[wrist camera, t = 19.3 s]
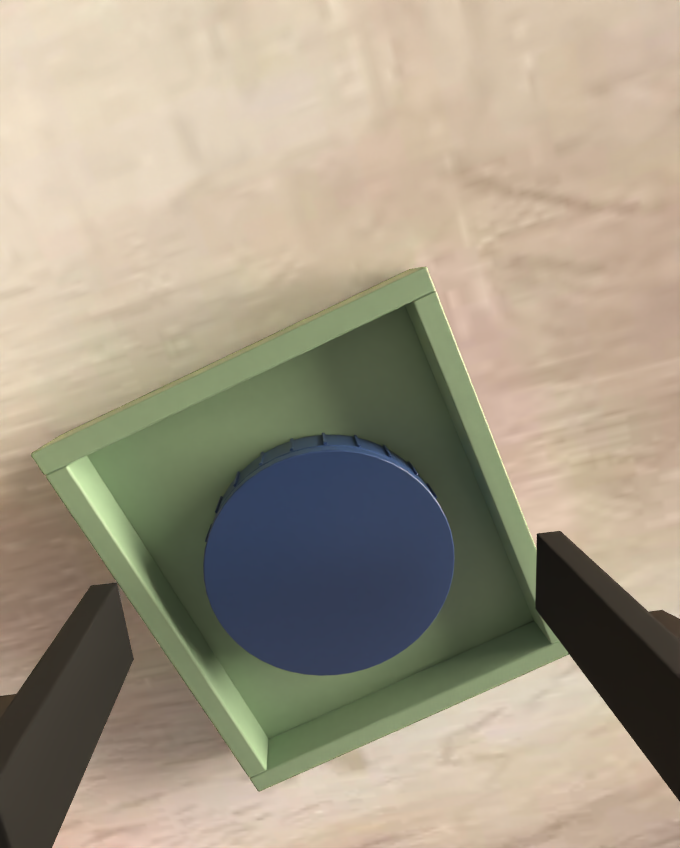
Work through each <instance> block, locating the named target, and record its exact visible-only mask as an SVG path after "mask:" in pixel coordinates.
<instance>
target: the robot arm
mask: <svg viewBox="0 0 680 848" xmlns="http://www.w3.org/2000/svg"><path fill="white" fill-rule="evenodd" d="M535 609H536V610H537V612H538V613H539V614H540V616H541V617H542V618H543V620H544V621H545V622H546V624H547V625H548V626H549V628H550V629H551V630H552V632H553V633H554V634H555V636H556V637H557V638H558V640H559V641H560V642H561V644H562V645H563V646H564V648H565V649H566V650H567V652H568V653H569V654H570V656H571V657H572V658H573V660H574V661H575V662H576V664H577V665H578V666H579V668H580V669H581V670H582V672H583V673H584V674H585V676H586V677H587V678H588V680H589V681H590V682H591V684H592V685H593V686H594V688H595V689H596V690H597V692H598V693H599V694H600V696H601V697H602V698H603V700H604V701H605V702H606V704H607V705H608V706H609V708H610V709H611V710H612V712H613V713H614V714H615V716H616V717H617V718H618V720H619V721H620V722H621V724H622V725H623V726H624V728H625V729H626V730H627V732H628V733H629V734H630V736H631V737H632V738H633V740H634V741H635V742H636V744H637V745H638V746H639V748H640V749H641V750H642V752H643V753H644V754H645V756H646V757H647V758H648V760H649V761H650V762H651V764H652V765H653V766H654V768H655V769H656V770H657V772H658V773H659V774H660V776H661V777H662V779H663V780H664V781H665V783H666V784H667V785H668V787H669V788H670V789H671V791H672V792H673V793H674V795H675V796H676V797H677V799H678V800H679V801H680V619H679V618H677V617H675V616H673V615H671V614H669V613H667V612H665V611H663V610H659V611H651V612H648V611H647V610H646V609H645V608H644V607H643V606H642V605H640V604H639V603H638V602H637V601H636V600H635V599H634V598H633V597H632V596H631V595H630V594H628V593H627V592H626V591H625V590H624V589H623V588H622V587H621V586H620V585H619V584H618V583H616V582H615V581H614V580H613V579H612V578H611V577H610V576H609V575H608V574H607V573H606V572H604V571H603V570H602V569H601V568H600V567H599V566H598V565H597V564H596V563H595V562H594V561H592V560H591V559H590V558H589V557H588V556H587V555H586V554H585V553H584V552H583V551H582V550H580V549H579V548H578V547H577V546H576V545H575V544H574V543H573V542H572V541H571V540H570V539H568V538H567V537H566V536H565V535H564V534H563V533H562V532H561V531H556V532H547V533H539V534H537V555H536V598H535ZM133 660H134V658H133V654H132V649H131V645H130V640H129V636H128V631H127V627H126V622H125V618H124V613H123V609H122V604H121V600H120V595H119V591H118V586H117V583H109V584H100V585H92V586H90V588H89V589H88V591H87V592H86V593H85V595H84V596H83V598H82V599H81V601H80V602H79V604H78V605H77V607H76V608H75V610H74V611H73V612H72V614H71V615H70V617H69V618H68V620H67V621H66V623H65V624H64V626H63V627H62V628H61V630H60V631H59V633H58V634H57V636H56V637H55V639H54V640H53V642H52V643H51V645H50V646H49V647H48V649H47V650H46V652H45V653H44V655H43V656H42V658H41V659H40V661H39V662H38V664H37V665H36V666H35V668H34V669H33V671H32V672H31V674H30V675H29V677H28V678H27V680H26V681H25V683H24V684H23V685H22V687H21V688H20V690H19V691H18V693H17V694H13V695H5V696H0V848H52V846H53V844H54V842H55V839H56V837H57V835H58V832H59V830H60V828H61V826H62V823H63V821H64V819H65V816H66V814H67V812H68V809H69V807H70V805H71V803H72V800H73V798H74V796H75V793H76V791H77V789H78V786H79V784H80V782H81V779H82V777H83V775H84V773H85V770H86V768H87V766H88V763H89V761H90V759H91V756H92V754H93V752H94V749H95V747H96V745H97V743H98V740H99V738H100V736H101V733H102V731H103V729H104V726H105V724H106V722H107V720H108V717H109V715H110V713H111V710H112V708H113V706H114V703H115V701H116V699H117V696H118V694H119V692H120V690H121V687H122V685H123V683H124V680H125V678H126V676H127V673H128V671H129V669H130V667H131V664H132V662H133Z"/></svg>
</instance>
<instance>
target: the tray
mask: <svg viewBox="0 0 680 848" xmlns="http://www.w3.org/2000/svg"><path fill="white" fill-rule="evenodd" d="M322 433H325V435H345V436H354V435H357V437H358V438H361V439H365V440H369V441H371V442H374V443H376V444H379V445H381V446H383V445H386V446H387V448H388V449H389V450H390V451H392V452H394V453H396V454H397V455H398V456H400V457H401V458H402V459H404V460H405V461H406V462H408V461H410V462H411V464H412V465H413V467H414V468H415V470H416V471H417V473H418V474H419V475H420V477H421V478H422V479H423V481H424V482H425V484H427V483H428V484H429V485H430V487H431V488H432V490H433V491H434V493H435V494H436V496H437V497H438V498H436V500H437V501H438V503H439V504H440V506H441V508H442V510H443V512H444V514H445V516H446V518H447V521H448V523H449V527H450V530H451V533H452V538H453V544H454V571H453V577H452V581H451V585H450V589H449V592H448V595H447V597H446V600H445V602H444V604H443V606H442V608H441V610H440V611H439V613H438V615H437V617H436V618H435V619H434V621H433V622H432V623H431V625H430V626H429V628H428V629H427V630H426V631H425V632H424V633H423V634H422V635H421V636H420V637H419V638H418V639H417V640H416V641H415V642H414V643H412V644H411V645H410V646H409V647H408V648H406V649H405V650H403V651H402V652H400V653H399V654H397V655H396V656H394V657H392V658H391V659H389V660H387V661H385V662H383V663H381V664H378V665H376V666H373V667H370V668H368V669H365V670H361V671H357V672H353V673H348V674H341V675H328V676H317V675H305V674H299V673H294V672H289V671H286V670H283V669H280V668H277V667H274V666H272V665H270V664H267V663H265V662H263V661H261V660H259V659H258V658H256V657H255V656H253V655H251V654H250V653H248V652H247V651H246V650H244V649H243V648H242V647H241V646H239V645H238V644H237V643H236V642H235V641H234V640H233V639H232V638H231V637H230V636H229V635H228V634H227V632H226V631H225V629H224V628H223V627H222V625H221V624H220V623H219V621H218V619H217V617H216V615H215V614H214V612H213V610H212V608H211V605H210V602H209V599H208V596H207V594H206V588H205V583H204V574H203V560H204V551H205V546H206V542H205V539H206V536H207V533H208V531H209V528H210V525H211V524H212V523H213V520H214V517H215V514H216V513H215V510H216V507H217V504H218V501H219V498H220V496H222V497H223V496H224V494H225V492H226V491H227V489H228V487H229V486H230V484H231V483H232V482H233V481H234V479H235V477H236V474H237V472H238V471H239V472H241V471H242V470H244V469H245V468H246V467H247V466H248V465H249V464H250V463H251V462H252V461H254V460H255V459H257V458H258V457H259V456H260V454H261V452H264V453H265V452H267V451H269V450H271V449H273V448H275V447H276V446H279V445H281V444H284V443H286V442H289V441H290V439H291V438H293V440H295V439H299V438H303V437H307V436H316V435H322ZM31 456H32V458H33V459H34V461H35V462H36V464H37V465H38V467H39V468H40V470H41V471H42V472H43V474H44V475H46V474H47V475H46V478H47V479H48V481H49V482H50V484H51V485H52V487H53V488H54V490H55V491H56V493H57V494H58V496H59V497H60V499H61V500H62V502H63V503H64V504H65V506H66V507H67V509H68V510H69V512H70V513H71V515H72V516H73V518H74V519H75V521H76V522H77V524H78V525H79V527H80V528H81V530H82V531H83V533H84V534H85V536H86V537H87V539H88V540H89V541H90V543H91V544H92V546H93V547H94V549H95V550H96V552H97V553H98V555H99V556H100V558H101V559H102V561H103V562H104V564H105V565H106V567H107V568H108V570H109V571H110V573H111V574H112V576H113V577H114V578H115V580H116V581H117V583H118V584H119V586H120V587H121V589H122V590H123V592H124V593H125V595H126V596H127V598H128V599H129V601H130V602H131V604H132V605H133V607H134V608H135V610H136V611H137V612H138V614H139V615H140V617H141V618H142V620H143V621H144V623H145V624H146V626H147V627H148V629H149V630H150V632H151V633H152V635H153V636H154V638H155V639H156V641H157V642H158V644H159V645H160V647H161V648H162V649H163V651H164V652H165V654H166V655H167V657H168V658H169V660H170V661H171V663H172V664H173V666H174V667H175V669H176V670H177V672H178V673H179V675H180V676H181V678H182V679H183V681H184V682H185V683H186V685H187V686H188V688H189V689H190V691H191V692H192V694H193V695H194V697H195V698H196V700H197V701H198V703H199V704H200V706H201V707H202V709H203V710H204V712H205V713H206V715H207V716H208V718H209V719H210V720H211V722H212V723H213V725H214V726H215V728H216V729H217V731H218V732H219V734H220V735H221V737H222V738H223V740H224V741H225V743H226V744H227V746H228V747H229V749H230V750H231V752H232V753H233V754H234V756H235V757H236V759H237V760H238V762H239V763H240V765H241V766H242V768H243V769H244V771H245V772H246V774H247V775H248V777H250V780H251V781H252V783H253V784H254V786H255V787H256V789H257V790H258V791H262V790H264V789H266V788H269V787H271V786H273V785H275V784H278V783H280V782H282V781H284V780H287V779H289V778H291V777H293V776H296V775H298V774H300V773H302V772H305V771H307V770H309V769H311V768H314V767H316V766H318V765H320V764H323V763H325V762H327V761H329V760H332V759H334V758H336V757H339V756H341V755H343V754H345V753H348V752H350V751H352V750H354V749H357V748H359V747H361V746H363V745H366V744H368V743H370V742H372V741H375V740H377V739H379V738H381V737H384V736H386V735H388V734H390V733H393V732H395V731H397V730H399V729H402V728H404V727H406V726H408V725H411V724H413V723H415V722H418V721H420V720H422V719H424V718H427V717H429V716H431V715H433V714H436V713H438V712H440V711H442V710H445V709H447V708H449V707H451V706H454V705H456V704H458V703H460V702H463V701H465V700H467V699H469V698H472V697H474V696H476V695H478V694H481V693H483V692H485V691H487V690H490V689H492V688H494V687H497V686H499V685H501V684H503V683H506V682H508V681H510V680H512V679H515V678H517V677H519V676H521V675H524V674H526V673H528V672H530V671H533V670H535V669H537V668H539V667H542V666H544V665H546V664H548V663H551V662H553V661H555V660H557V659H560V658H562V657H564V656H566V655H569V653H568V652H567V650H566V649H565V648H564V646H563V645H562V644H561V642H560V641H559V640H558V638H557V637H556V636H555V634H554V633H553V632H552V630H551V629H550V628H549V626H548V625H547V624H546V622H545V621H544V620H543V618H542V617H541V616H540V614H539V613H538V612H537V610H536V609H535V598H536V555H537V549H536V547H535V544H534V542H533V539H532V537H531V534H530V531H529V529H528V526H527V524H526V521H525V519H524V516H523V513H522V511H521V508H520V506H519V503H518V501H517V498H516V495H515V493H514V490H513V488H512V485H511V483H510V480H509V477H508V475H507V472H506V470H505V467H504V465H503V462H502V459H501V457H500V454H499V452H498V449H497V447H496V444H495V441H494V439H493V436H492V434H491V431H490V429H489V426H488V423H487V421H486V418H485V416H484V413H483V411H482V408H481V405H480V403H479V400H478V398H477V395H476V393H475V390H474V387H473V385H472V382H471V380H470V377H469V375H468V372H467V369H466V367H465V364H464V362H463V359H462V357H461V354H460V351H459V349H458V346H457V344H456V341H455V339H454V336H453V333H452V331H451V328H450V326H449V323H448V321H447V318H446V315H445V313H444V310H443V308H442V305H441V303H440V300H439V297H438V295H437V292H436V291H435V287H434V285H433V282H432V279H431V277H430V274H429V272H428V269H427V267H420V268H413V269H409V270H407V271H405V272H403V273H401V274H399V275H397V276H394V277H392V278H390V279H388V280H386V281H384V282H382V283H380V284H378V285H376V286H373V287H371V288H369V289H367V290H365V291H363V292H361V293H359V294H357V295H355V296H352V297H350V298H348V299H346V300H344V301H342V302H340V303H338V304H336V305H333V306H331V307H329V308H327V309H325V310H323V311H321V312H319V313H317V314H315V315H312V316H310V317H308V318H306V319H304V320H302V321H300V322H298V323H296V324H293V325H291V326H289V327H287V328H285V329H283V330H281V331H279V332H277V333H275V334H272V335H270V336H268V337H266V338H264V339H262V340H260V341H258V342H256V343H253V344H251V345H249V346H247V347H245V348H243V349H241V350H239V351H237V352H235V353H232V354H230V355H228V356H226V357H224V358H222V359H220V360H218V361H216V362H213V363H211V364H209V365H207V366H205V367H203V368H201V369H199V370H197V371H195V372H192V373H190V374H188V375H186V376H184V377H182V378H180V379H178V380H176V381H173V382H171V383H169V384H167V385H165V386H163V387H161V388H159V389H157V390H155V391H152V392H150V393H148V394H146V395H144V396H142V397H140V398H138V399H136V400H133V401H131V402H129V403H127V404H125V405H123V406H121V407H119V408H117V409H115V410H112V411H110V412H108V413H106V414H104V415H102V416H100V417H98V418H96V419H93V420H91V421H89V422H87V423H85V424H83V425H81V426H79V427H77V428H75V429H72V430H70V431H68V432H66V433H64V434H62V435H60V436H58V437H57V438H55V439H53V440H52V441H50V442H49V443H47V444H46V445H44V446H42V447H41V448H39V449H38V450H36V451H34V452H33V453H32V454H31Z"/></svg>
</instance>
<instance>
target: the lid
mask: <svg viewBox="0 0 680 848" xmlns="http://www.w3.org/2000/svg"><path fill="white" fill-rule="evenodd" d="M436 498H438V497H437V496H436V494H435V493H434V491H433V490H432V488H431V487H430V485H429V484H428V483H427V484H425V482H424V481H423V479H422V478H421V477H420V475H419V474H418V473H417V471H416V470H415V468H414V467H413V465H412V464H411V462H410V461H408V462H406V461H405V460H404V459H402V458H401V457H400V456H398V455H397V454H396V453H394V452H392V451H390V450H389V449H388V448H387V446H386V445H383V446H381V445H379V444H376V443H374V442H371V441H369V440H365V439H361V438H358V437H357V435H354V436H345V435H325V433H322V435H316V436H307V437H303V438H299V439H295V440H293V438H291V439H290V441H289V442H286V443H284V444H281V445H279V446H276V447H275V448H273V449H271V450H269V451H267V452H265V453H264V452H261V454H260V456H259V457H258V458H257V459H255V460H254V461H252V462H251V463H250V464H249V465H248V466H247V467H246V468H245V469H244V470H242V471H241V472H239V471H238V472H237V474H236V477H235V479H234V481H233V482H232V483H231V484H230V486H229V487H228V489H227V491H226V492H225V494H224V496H223V497H222V496H220V498H219V501H218V504H217V507H216V510H215V513H216V514H215V517H214V520H213V523H212V524H211V525H210V528H209V531H208V533H207V536H206V539H205V542H206V546H205V551H204V560H203V574H204V583H205V588H206V594H207V596H208V599H209V602H210V605H211V608H212V610H213V612H214V614H215V615H216V617H217V619H218V621H219V623H220V624H221V625H222V627H223V628H224V629H225V631H226V632H227V634H228V635H229V636H230V637H231V638H232V639H233V640H234V641H235V642H236V643H237V644H238V645H239V646H241V647H242V648H243V649H244V650H246V651H247V652H248V653H250V654H251V655H253V656H255V657H256V658H258V659H259V660H261V661H263V662H265V663H267V664H270V665H272V666H274V667H277V668H280V669H283V670H286V671H289V672H294V673H299V674H305V675H317V676H328V675H341V674H348V673H353V672H357V671H361V670H365V669H368V668H370V667H373V666H376V665H378V664H381V663H383V662H385V661H387V660H389V659H391V658H392V657H394V656H396V655H397V654H399V653H400V652H402V651H403V650H405V649H406V648H408V647H409V646H410V645H411V644H412V643H414V642H415V641H416V640H417V639H418V638H419V637H420V636H421V635H422V634H423V633H424V632H425V631H426V630H427V629H428V628H429V626H430V625H431V623H432V622H433V621H434V619H435V618H436V617H437V615H438V613H439V611H440V610H441V608H442V606H443V604H444V602H445V600H446V597H447V595H448V592H449V589H450V585H451V581H452V577H453V571H454V544H453V538H452V533H451V530H450V527H449V523H448V521H447V518H446V516H445V514H444V512H443V510H442V508H441V506H440V504H439V503H438V501H437V500H436Z"/></svg>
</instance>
